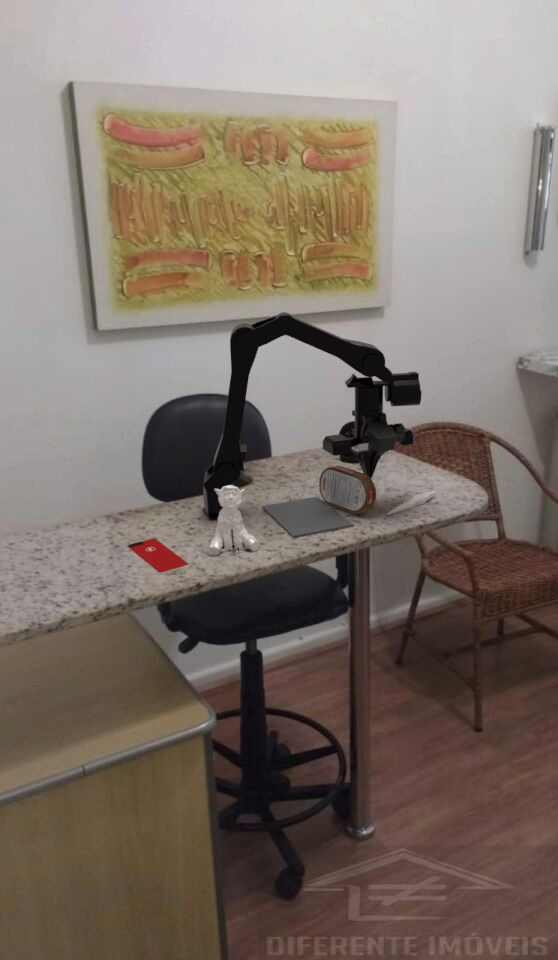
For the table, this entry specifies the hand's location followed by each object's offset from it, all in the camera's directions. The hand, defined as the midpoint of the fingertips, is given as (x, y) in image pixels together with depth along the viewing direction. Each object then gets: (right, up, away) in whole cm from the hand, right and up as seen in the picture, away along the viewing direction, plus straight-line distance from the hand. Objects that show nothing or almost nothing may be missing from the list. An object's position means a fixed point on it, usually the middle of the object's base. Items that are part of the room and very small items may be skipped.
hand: (368, 479), depth 158 cm
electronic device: (-42, -15, -18) cm, 48 cm away
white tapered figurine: (+9, -6, +1) cm, 11 cm away
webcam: (0, +5, +33) cm, 34 cm away
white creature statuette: (-28, -13, -15) cm, 34 cm away
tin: (-5, -6, 0) cm, 8 cm away
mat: (-13, -8, -3) cm, 16 cm away
